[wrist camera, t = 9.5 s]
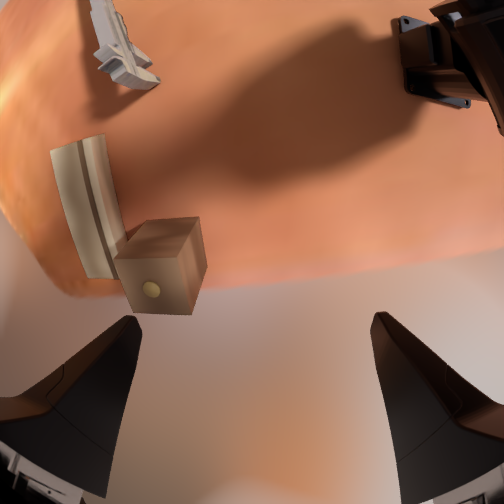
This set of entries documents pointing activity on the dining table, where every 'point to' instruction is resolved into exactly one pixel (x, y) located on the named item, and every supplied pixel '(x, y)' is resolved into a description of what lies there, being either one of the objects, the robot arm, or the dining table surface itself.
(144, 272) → the brown block with knob
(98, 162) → the board
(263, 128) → the dining table surface
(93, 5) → the caliper
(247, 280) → the dining table surface
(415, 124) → the dining table surface
